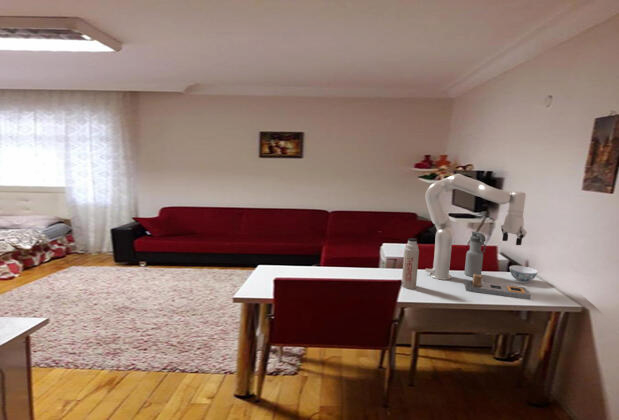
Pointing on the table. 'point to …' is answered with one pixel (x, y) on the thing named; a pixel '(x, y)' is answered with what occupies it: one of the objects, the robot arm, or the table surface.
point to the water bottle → (475, 254)
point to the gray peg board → (498, 289)
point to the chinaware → (523, 273)
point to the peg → (477, 280)
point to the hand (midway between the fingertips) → (511, 242)
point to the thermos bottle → (410, 264)
